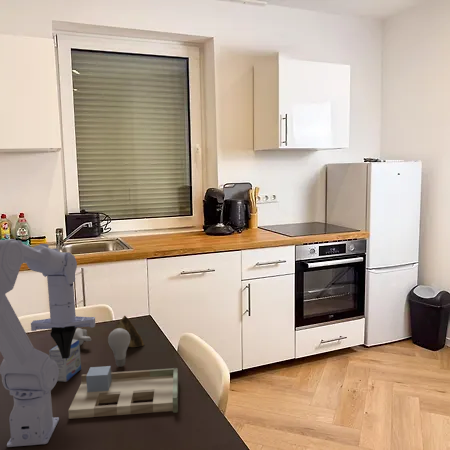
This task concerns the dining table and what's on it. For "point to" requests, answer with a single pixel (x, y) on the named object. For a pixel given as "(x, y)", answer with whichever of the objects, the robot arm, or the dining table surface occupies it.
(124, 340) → the lightbulb
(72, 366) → the medicine box
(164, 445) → the dining table surface
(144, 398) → the tray
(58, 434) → the dining table surface
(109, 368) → the slate block
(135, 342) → the rock
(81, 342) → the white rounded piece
